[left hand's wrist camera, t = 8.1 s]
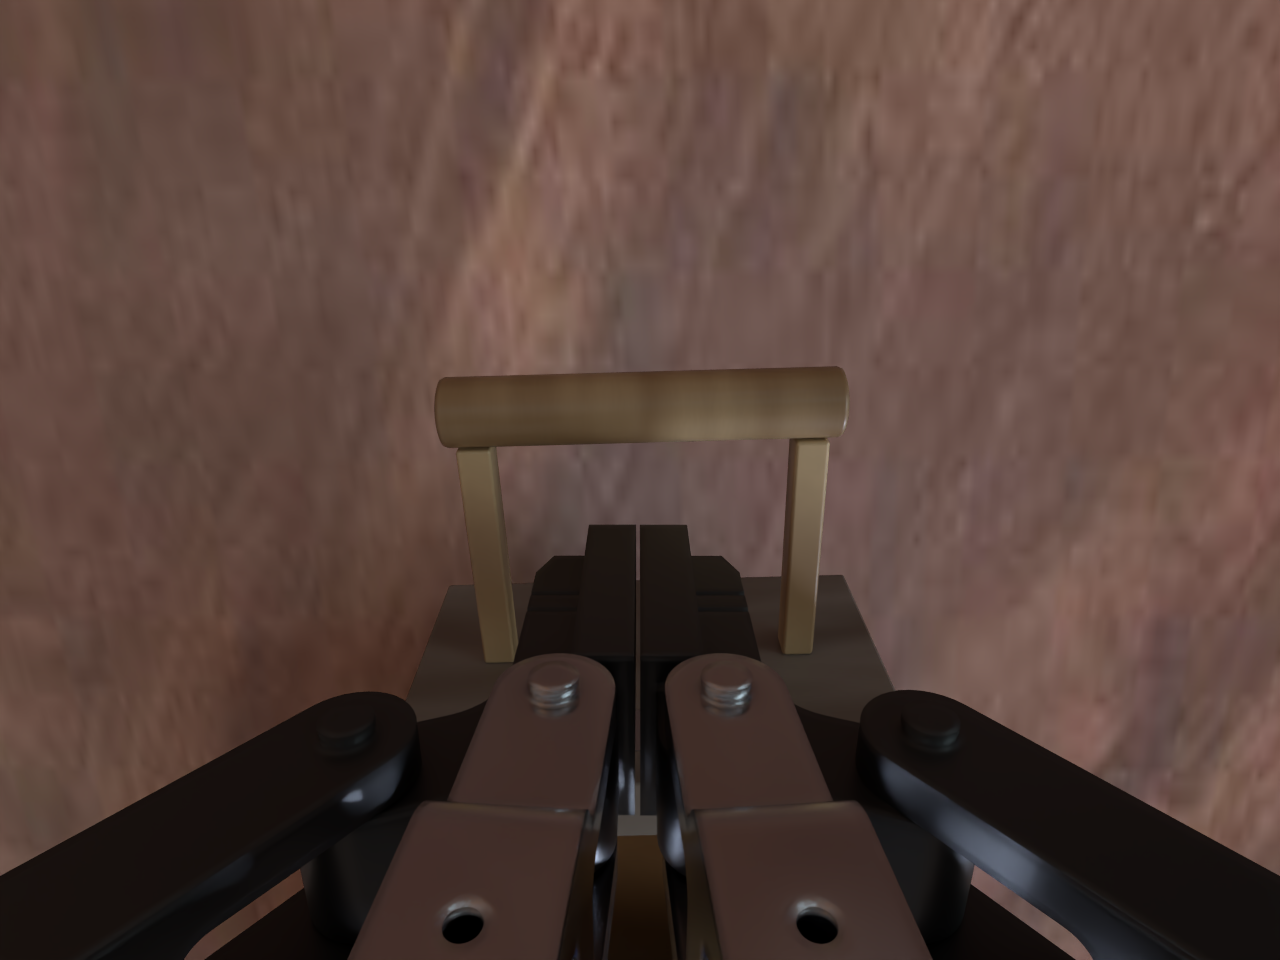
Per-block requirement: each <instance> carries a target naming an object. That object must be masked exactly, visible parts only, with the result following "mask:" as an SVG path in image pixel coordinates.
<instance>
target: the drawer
mask: <svg viewBox="0 0 1280 960" xmlns="http://www.w3.org/2000/svg"><path fill="white" fill-rule="evenodd" d="M434 412H435V423H436V429H437V433H438V436H439V439H440V441H441V443H442V445H443V446H445V447H447V448H458V450H457V452H456V457H457V464H458V472H459V479H460V486H461V493H462V501H463V508H464V515H465V523H466V530H467V537H468V544H469V552H470V559H471V566H472V573H473V581H474V585H452V586H449V588H448V591H447V594H446V596H445V599H444V602H443V604H442V607H441V609H440V612H439V615H438V617H437V620H436V623H435V625H434V628H433V630H432V633H431V636H430V638H429V641H428V644H427V646H426V649H425V651H424V654H423V657H422V659H421V662H420V665H419V667H418V670H417V672H416V675H415V678H414V680H413V683H412V686H411V688H410V691H409V693H408V696H407V699H406V702H407V703H408V704H410V706H411V707H412V708H413V710H414V712H415V714H416V718H417V722H419V721H424V720H428V719H433V718H438V717H442V716H447V715H451V714H455V713H459V712H462V711H464V710H467V709H470V708H472V707H474V706H477V705H479V704H481V703H483V702H484V701H486V700H487V699H488V698H489V696H490V693H491V691H492V688H493V686H494V684H495V682H496V680H497V679H498V678H499V676H500V675H501V674H502V673H503V672H504V671H506V670H507V669H508V668H509V667H511V666H513V662H514V658H515V654H516V650H517V646H518V642H519V638H520V634H521V630H522V627H523V623H524V619H525V615H526V611H527V607H528V603H529V599H530V595H531V591H532V587H533V584H534V583H525V584H511V575H510V566H509V557H508V548H507V539H506V531H505V522H504V513H503V504H502V495H501V486H500V478H499V469H498V460H497V451H496V447H503V446H539V445H575V444H611V443H648V442H684V441H720V440H756V439H790V442H789V459H788V475H787V492H786V509H785V526H784V542H783V559H782V576H781V577H746V578H741V581H742V585H743V589H744V595H745V597H746V602H747V606H748V612H749V614H750V618H751V622H752V626H753V630H754V634H755V638H756V642H757V646H758V651H759V655H760V659H761V662H762V663H764V664H766V665H767V666H769V667H771V668H772V669H773V670H774V671H776V672H777V673H778V674H779V675H780V676H781V678H782V679H783V680H784V682H785V684H786V686H787V688H788V691H789V693H790V696H791V698H792V701H793V703H794V704H795V705H797V706H799V707H801V708H804V709H806V710H809V711H812V712H815V713H818V714H822V715H826V716H831V717H835V718H840V719H844V720H849V721H854V722H858V723H860V716H861V713H862V710H863V708H864V707H865V705H866V704H867V703H868V702H869V701H870V700H872V699H873V698H875V697H877V696H879V695H881V694H884V693H887V692H892V691H895V689H894V687H893V685H892V682H891V680H890V678H889V676H888V674H887V671H886V669H885V667H884V665H883V663H882V660H881V658H880V656H879V654H878V651H877V649H876V647H875V645H874V643H873V640H872V638H871V636H870V634H869V631H868V629H867V627H866V625H865V623H864V620H863V618H862V616H861V614H860V612H859V609H858V607H857V605H856V603H855V600H854V598H853V596H852V594H851V592H850V589H849V587H848V585H847V583H846V580H845V578H844V576H843V575H819V566H820V554H821V542H822V530H823V518H824V506H825V494H826V482H827V470H828V458H829V446H830V443H829V441H828V439H827V438H828V437H839V436H841V435H842V434H843V433H844V431H845V429H846V425H847V422H848V416H849V388H848V382H847V378H846V375H845V373H844V371H843V369H842V368H840V367H837V366H832V367H796V368H761V369H725V370H689V371H653V372H617V373H582V374H546V375H510V376H474V377H445V378H443V379H441V380H440V381H439V382H438V385H437V388H436V393H435V403H434ZM617 852H618V875H617V884H616V892H615V900H614V908H613V917H612V925H611V933H610V941H609V949H608V958H607V960H673V958H672V949H671V941H670V933H669V925H668V917H667V908H666V900H665V892H664V884H663V875H662V853H661V851H660V848H659V846H658V840H657V816H640V580H636V720H635V815H618V832H617Z"/></svg>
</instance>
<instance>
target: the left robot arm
mask: <svg viewBox="0 0 1280 960" xmlns="http://www.w3.org/2000/svg"><path fill="white" fill-rule="evenodd" d="M635 720H636V525H589V529H588V536H587V543H586V550H585V556H554V557H553V558H551V559H550V560H549V561H548V562H547V563H546V564H545V565H544V566H543V567H542V568H541V569H539V570H538V571H537V572H536V576H535V580H534V584H533V587H532V591H531V595H530V599H529V603H528V607H527V611H526V615H525V619H524V623H523V627H522V630H521V634H520V638H519V642H518V646H517V650H516V654H515V658H514V662H513V666H511V667H509V668H508V669H507V670H506V671H504V672H503V673H502V674H501V675H500V676H499V678H498V679H497V680H496V682H495V684H494V686H493V688H492V691H491V693H490V696H489V698H488V699H487V700H486V701H484V702H483V703H481V704H479V705H477V706H474V707H472V708H470V709H467V710H464V711H462V712H459V713H455V714H451V715H447V716H442V717H438V718H433V719H428V720H424V721H419V722H417V718H416V714H415V712H414V710H413V708H412V707H411V706H410V704H408V703H407V702H406V701H404V700H403V699H401V698H399V697H397V696H394V695H391V694H388V693H381V692H356V693H350V694H344V695H341V696H337V697H333V698H330V699H328V700H325V701H322V702H320V703H318V704H316V705H314V706H312V707H310V708H308V709H306V710H305V711H303V712H301V713H299V714H297V715H295V716H293V717H292V718H290V719H288V720H286V721H284V722H282V723H281V724H279V725H277V726H275V727H273V728H271V729H270V730H268V731H266V732H264V733H262V734H260V735H259V736H257V737H255V738H253V739H251V740H249V741H248V742H246V743H244V744H242V745H240V746H238V747H237V748H235V749H233V750H231V751H229V752H227V753H225V754H224V755H222V756H220V757H218V758H216V759H214V760H213V761H211V762H209V763H207V764H205V765H203V766H202V767H200V768H198V769H196V770H194V771H192V772H191V773H189V774H187V775H185V776H183V777H181V778H180V779H178V780H176V781H174V782H172V783H170V784H169V785H167V786H165V787H163V788H161V789H159V790H157V791H156V792H154V793H152V794H150V795H148V796H146V797H145V798H143V799H141V800H139V801H137V802H135V803H134V804H132V805H130V806H128V807H126V808H124V809H123V810H121V811H119V812H117V813H115V814H113V815H112V816H110V817H108V818H106V819H104V820H102V821H101V822H99V823H97V824H95V825H93V826H91V827H89V828H88V829H86V830H84V831H82V832H80V833H78V834H77V835H75V836H73V837H71V838H69V839H67V840H66V841H64V842H62V843H60V844H58V845H56V846H55V847H53V848H51V849H49V850H47V851H45V852H44V853H42V854H40V855H38V856H36V857H34V858H33V859H31V860H29V861H27V862H25V863H23V864H21V865H20V866H18V867H16V868H14V869H12V870H10V871H9V872H7V873H5V874H3V875H1V876H0V960H184V958H185V957H186V955H187V954H188V953H189V951H190V950H191V949H192V948H193V947H194V945H195V944H196V943H197V942H198V941H199V940H200V939H201V938H202V937H204V936H205V935H206V934H207V933H209V932H210V931H211V930H212V929H214V928H215V927H217V926H218V925H220V924H221V923H222V922H224V921H225V920H227V919H228V918H230V917H231V916H233V915H234V914H235V913H237V912H238V911H240V910H241V909H243V908H244V907H245V906H247V905H248V904H250V903H251V902H253V901H254V900H255V899H257V898H258V897H260V896H261V895H263V894H264V893H265V892H267V891H268V890H270V889H271V888H273V887H274V886H275V885H277V884H278V883H280V882H281V881H283V880H284V879H285V878H287V877H288V876H290V875H291V874H293V873H294V872H295V871H297V870H298V869H300V870H301V875H302V880H303V884H304V888H303V889H302V890H300V891H299V892H298V893H296V894H295V895H293V896H292V897H291V898H289V899H288V900H286V901H285V902H284V903H282V904H281V905H280V906H278V907H277V908H275V909H274V910H273V911H271V912H270V913H268V914H267V915H266V916H264V917H263V918H262V919H260V920H259V921H257V922H256V923H255V924H253V925H252V926H250V927H249V928H248V929H246V930H245V931H243V932H242V933H241V934H239V935H238V936H237V937H235V938H234V939H232V940H231V941H230V942H228V943H227V944H225V945H224V946H223V947H221V948H220V949H219V950H217V951H216V952H214V953H213V954H212V955H210V956H209V957H207V958H206V959H205V960H607V958H608V949H609V941H610V933H611V925H612V917H613V908H614V900H615V892H616V884H617V875H618V852H617V832H618V815H635ZM640 816H657V840H658V846H659V848H660V851H661V853H662V875H663V884H664V892H665V900H666V908H667V917H668V925H669V933H670V941H671V949H672V958H673V960H1075V959H1074V958H1073V957H1071V956H1070V955H1068V954H1067V953H1066V952H1064V951H1063V950H1061V949H1060V948H1059V947H1057V946H1056V945H1054V944H1053V943H1052V942H1050V941H1049V940H1048V939H1046V938H1045V937H1043V936H1042V935H1041V934H1039V933H1038V932H1036V931H1035V930H1034V929H1032V928H1031V927H1030V926H1028V925H1027V924H1025V923H1024V922H1023V921H1021V920H1020V919H1018V918H1017V917H1016V916H1014V915H1013V914H1012V913H1010V912H1009V911H1007V910H1006V909H1005V908H1003V907H1002V906H1000V905H999V904H998V903H996V902H995V901H993V900H992V899H991V898H989V897H988V896H987V895H985V894H984V893H982V892H981V891H980V890H978V889H977V888H975V887H974V886H973V885H971V879H972V874H973V870H974V865H976V866H977V867H979V868H980V869H982V870H983V871H985V872H986V873H987V874H989V875H990V876H992V877H993V878H995V879H996V880H997V881H999V882H1000V883H1002V884H1003V885H1005V886H1006V887H1007V888H1009V889H1010V890H1012V891H1013V892H1015V893H1016V894H1017V895H1019V896H1020V897H1022V898H1023V899H1025V900H1026V901H1027V902H1029V903H1030V904H1032V905H1033V906H1035V907H1036V908H1037V909H1039V910H1040V911H1042V912H1043V913H1045V914H1046V915H1047V916H1049V917H1050V918H1052V919H1053V920H1055V921H1056V922H1057V923H1059V924H1060V925H1062V926H1063V927H1065V928H1066V929H1067V930H1068V931H1070V932H1071V933H1072V934H1073V935H1074V936H1075V937H1076V938H1077V939H1078V940H1079V941H1080V942H1081V943H1082V944H1083V945H1084V946H1085V948H1086V949H1087V950H1088V952H1089V953H1090V955H1091V956H1092V958H1093V960H1280V876H1279V875H1277V874H1275V873H1273V872H1271V871H1270V870H1268V869H1266V868H1264V867H1262V866H1260V865H1258V864H1257V863H1255V862H1253V861H1251V860H1249V859H1247V858H1246V857H1244V856H1242V855H1240V854H1238V853H1236V852H1235V851H1233V850H1231V849H1229V848H1227V847H1225V846H1224V845H1222V844H1220V843H1218V842H1216V841H1214V840H1213V839H1211V838H1209V837H1207V836H1205V835H1203V834H1202V833H1200V832H1198V831H1196V830H1194V829H1192V828H1190V827H1189V826H1187V825H1185V824H1183V823H1181V822H1179V821H1178V820H1176V819H1174V818H1172V817H1170V816H1168V815H1167V814H1165V813H1163V812H1161V811H1159V810H1157V809H1156V808H1154V807H1152V806H1150V805H1148V804H1146V803H1145V802H1143V801H1141V800H1139V799H1137V798H1135V797H1134V796H1132V795H1130V794H1128V793H1126V792H1124V791H1122V790H1121V789H1119V788H1117V787H1115V786H1113V785H1111V784H1110V783H1108V782H1106V781H1104V780H1102V779H1100V778H1099V777H1097V776H1095V775H1093V774H1091V773H1089V772H1088V771H1086V770H1084V769H1082V768H1080V767H1078V766H1077V765H1075V764H1073V763H1071V762H1069V761H1067V760H1066V759H1064V758H1062V757H1060V756H1058V755H1056V754H1054V753H1053V752H1051V751H1049V750H1047V749H1045V748H1043V747H1042V746H1040V745H1038V744H1036V743H1034V742H1032V741H1031V740H1029V739H1027V738H1025V737H1023V736H1021V735H1020V734H1018V733H1016V732H1014V731H1012V730H1010V729H1009V728H1007V727H1005V726H1003V725H1001V724H999V723H998V722H996V721H994V720H992V719H990V718H988V717H986V716H985V715H983V714H981V713H979V712H977V711H975V710H974V709H972V708H970V707H968V706H966V705H964V704H962V703H960V702H958V701H956V700H954V699H951V698H948V697H946V696H943V695H939V694H935V693H931V692H925V691H917V690H898V691H892V692H887V693H884V694H881V695H879V696H877V697H875V698H873V699H872V700H870V701H869V702H868V703H867V704H866V705H865V707H864V708H863V710H862V713H861V716H860V723H858V722H854V721H849V720H844V719H840V718H835V717H831V716H826V715H822V714H818V713H815V712H812V711H809V710H806V709H804V708H801V707H799V706H797V705H795V704H794V703H793V701H792V698H791V696H790V693H789V691H788V688H787V686H786V684H785V682H784V680H783V679H782V678H781V676H780V675H779V674H778V673H777V672H776V671H774V670H773V669H772V668H771V667H769V666H767V665H766V664H764V663H762V662H761V659H760V655H759V651H758V646H757V642H756V638H755V634H754V630H753V626H752V622H751V618H750V614H749V612H748V606H747V602H746V597H745V595H744V589H743V585H742V581H741V577H740V573H739V572H738V571H737V570H736V569H735V568H734V567H733V566H732V565H731V564H730V563H729V562H727V561H726V560H725V559H724V558H723V557H722V556H691V553H690V545H689V537H688V530H687V525H640Z"/></svg>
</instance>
